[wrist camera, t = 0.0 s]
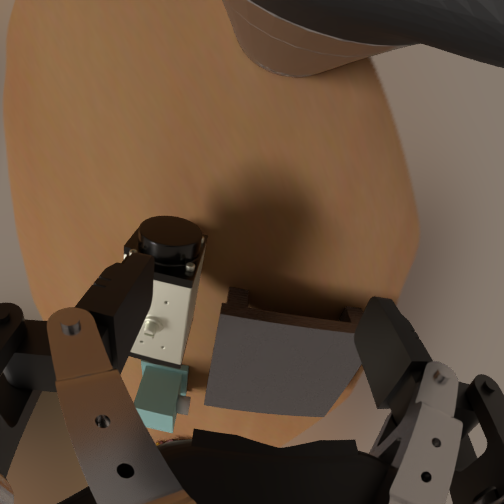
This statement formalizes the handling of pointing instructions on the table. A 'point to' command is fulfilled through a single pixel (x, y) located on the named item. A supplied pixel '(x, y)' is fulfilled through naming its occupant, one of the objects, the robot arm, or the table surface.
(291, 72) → the robot arm
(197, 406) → the table surface
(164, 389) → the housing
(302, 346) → the stand
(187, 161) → the table surface
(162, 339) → the pneumatic valve
